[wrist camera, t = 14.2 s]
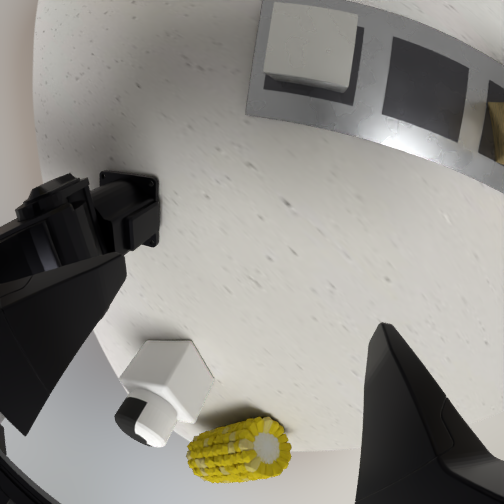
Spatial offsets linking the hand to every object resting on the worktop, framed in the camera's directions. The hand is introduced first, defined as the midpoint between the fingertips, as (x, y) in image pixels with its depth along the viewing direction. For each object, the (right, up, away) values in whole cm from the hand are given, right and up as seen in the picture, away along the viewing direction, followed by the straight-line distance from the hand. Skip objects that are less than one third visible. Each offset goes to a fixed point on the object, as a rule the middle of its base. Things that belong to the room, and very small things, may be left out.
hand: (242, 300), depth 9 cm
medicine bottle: (-8, -12, +24) cm, 28 cm away
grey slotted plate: (+13, +12, +5) cm, 19 cm away
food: (-1, -25, +29) cm, 38 cm away
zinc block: (+4, +14, +6) cm, 16 cm away
